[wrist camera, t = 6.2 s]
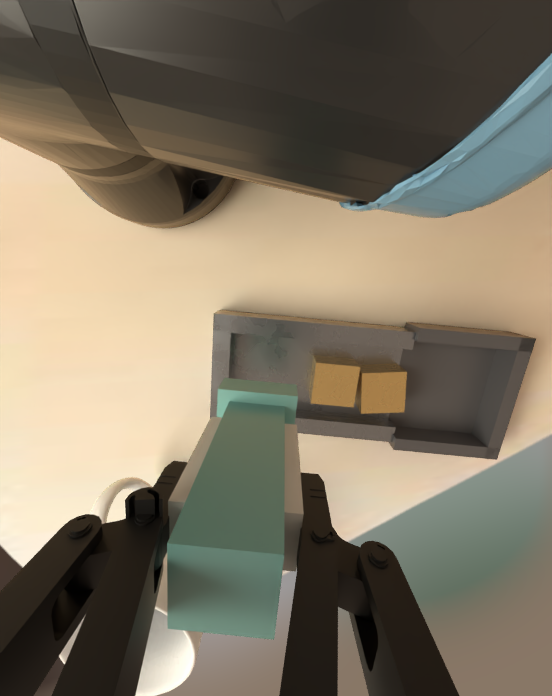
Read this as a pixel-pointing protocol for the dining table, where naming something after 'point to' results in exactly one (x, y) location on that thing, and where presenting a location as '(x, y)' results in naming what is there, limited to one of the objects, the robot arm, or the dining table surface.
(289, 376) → the dark gray shallow tray
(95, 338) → the dining table surface
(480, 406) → the tray
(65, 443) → the dining table surface
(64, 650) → the mug
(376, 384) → the chip
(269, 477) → the teal t-shaped block
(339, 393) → the chip
